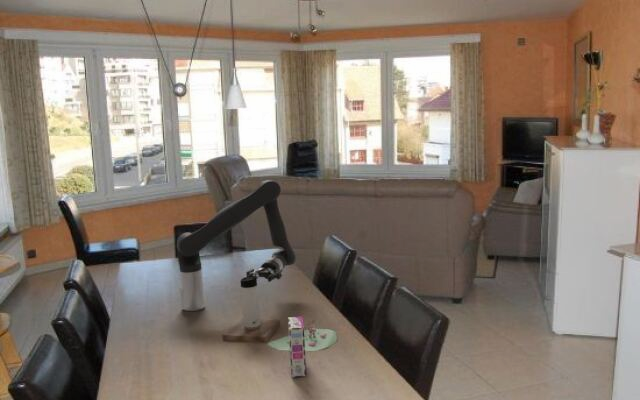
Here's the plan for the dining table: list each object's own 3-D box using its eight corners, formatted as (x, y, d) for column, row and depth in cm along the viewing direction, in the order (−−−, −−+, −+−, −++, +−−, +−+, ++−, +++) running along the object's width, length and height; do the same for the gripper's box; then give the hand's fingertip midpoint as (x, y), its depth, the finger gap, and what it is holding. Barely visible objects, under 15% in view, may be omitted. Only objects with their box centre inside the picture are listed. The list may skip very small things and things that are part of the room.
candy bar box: (307, 377, 187) (304, 327, 184) (291, 378, 186) (288, 329, 184) (305, 361, 198) (302, 315, 195) (290, 363, 197) (287, 316, 195)
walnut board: (222, 340, 221) (222, 334, 220) (239, 323, 237) (239, 318, 236) (265, 342, 216) (265, 336, 216) (280, 324, 233) (279, 319, 232)
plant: (279, 360, 202) (277, 335, 200) (262, 339, 221) (260, 316, 219) (346, 345, 210) (344, 321, 209) (324, 326, 229) (323, 304, 228)
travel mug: (258, 330, 223) (254, 279, 219) (242, 330, 224) (237, 279, 221) (263, 324, 229) (259, 274, 225) (247, 323, 230) (243, 274, 227)
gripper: (255, 259, 251) (241, 269, 236) (287, 259, 248) (275, 270, 232) (256, 276, 253) (242, 287, 237) (288, 277, 249) (276, 288, 234)
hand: (258, 279), depth 235 cm, fingers open, 8 cm apart
